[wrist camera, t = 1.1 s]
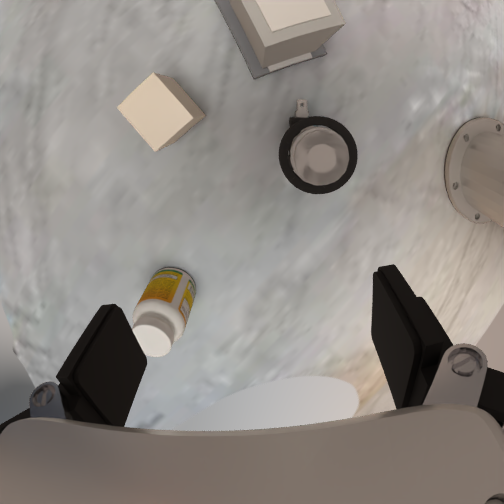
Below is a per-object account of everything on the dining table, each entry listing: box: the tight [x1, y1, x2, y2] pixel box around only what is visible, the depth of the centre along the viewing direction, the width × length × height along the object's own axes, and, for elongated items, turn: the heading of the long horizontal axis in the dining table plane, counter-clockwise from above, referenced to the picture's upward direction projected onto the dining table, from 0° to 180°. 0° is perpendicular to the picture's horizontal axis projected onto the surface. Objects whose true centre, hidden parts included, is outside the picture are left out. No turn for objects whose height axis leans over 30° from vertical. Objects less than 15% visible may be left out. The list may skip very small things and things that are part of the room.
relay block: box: [117, 73, 206, 152], centre depth 24 cm, size 4×5×6 cm
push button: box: [279, 99, 357, 194], centre depth 23 cm, size 7×5×10 cm
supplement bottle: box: [132, 268, 196, 357], centre depth 31 cm, size 5×5×10 cm
